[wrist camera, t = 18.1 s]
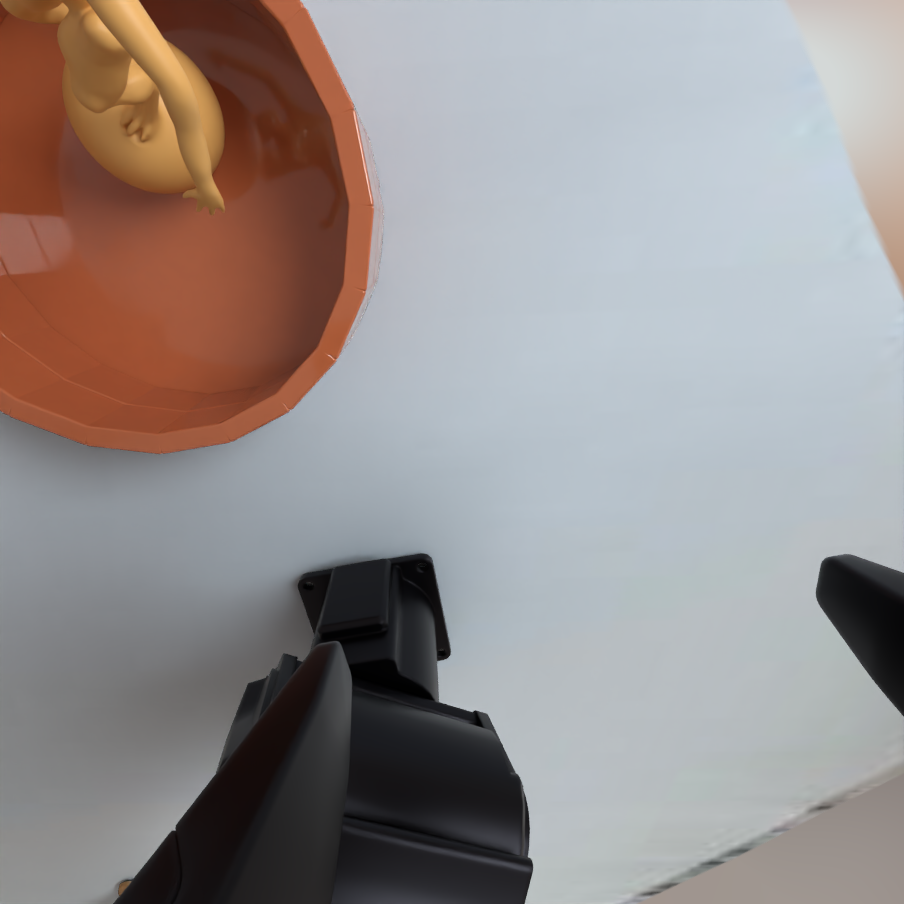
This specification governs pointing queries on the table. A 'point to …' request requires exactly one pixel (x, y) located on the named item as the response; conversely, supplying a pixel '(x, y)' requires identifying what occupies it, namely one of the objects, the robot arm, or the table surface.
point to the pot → (184, 242)
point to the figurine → (135, 97)
